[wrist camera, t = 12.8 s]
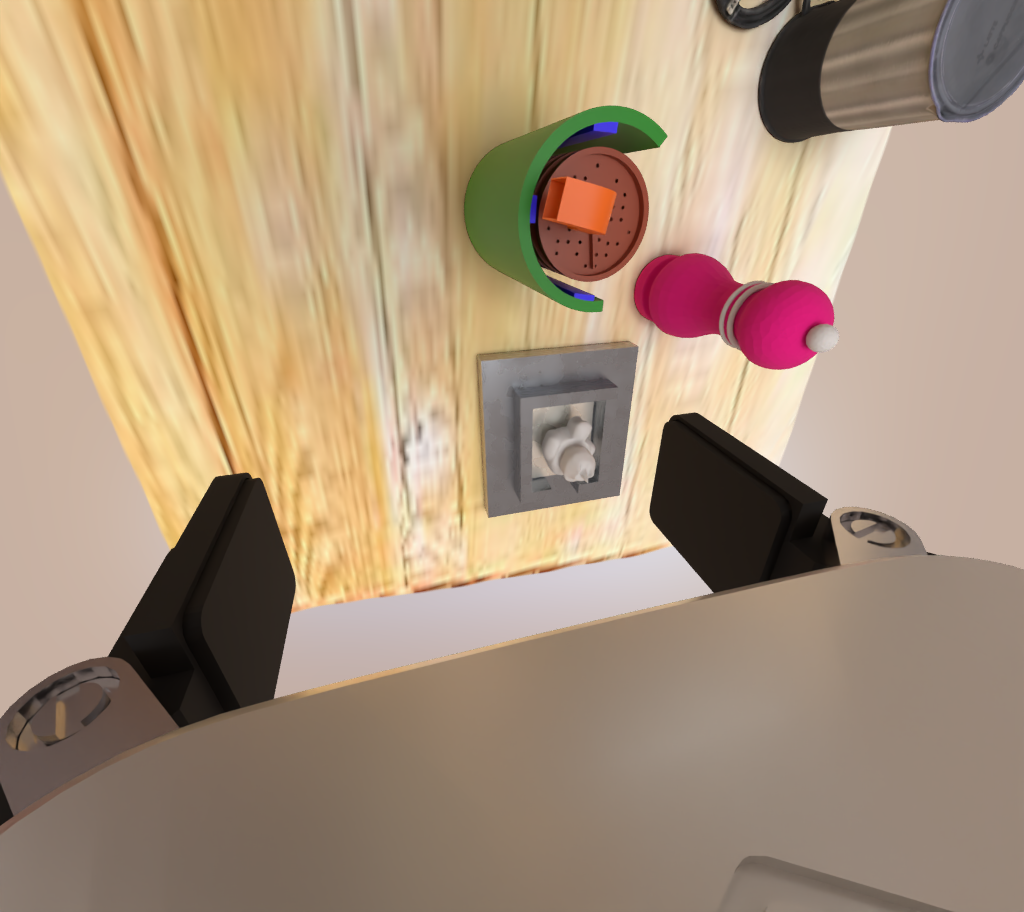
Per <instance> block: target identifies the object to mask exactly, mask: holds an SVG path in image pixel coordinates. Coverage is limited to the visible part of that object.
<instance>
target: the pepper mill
mask: <svg viewBox="0 0 1024 912" xmlns="http://www.w3.org/2000/svg"><path fill="white" fill-rule="evenodd" d="M634 299H635V304H636V307H637V309H638V311H639V312H640V314H641V315H642V316H643V317H645V318H646V319H648V320H651V321H653V322H654V323H655V324H656V326H657V327H658V328H659V329H660V330H662V331H663V332H665V333H666V334H669V335H672V336H676V337H681V338H694V337H699V336H703V335H708V334H719V335H721V337H722V339H723V341H724V342H725V343H726V344H727V345H729V346H731V347H734V348H737V349H738V350H741V351H742V352H743V354H744V355H745V356H746V357H747V359H748V360H749V361H751V362H752V363H754V364H756V365H758V366H761V367H764V368H768V369H777V370H781V369H789V368H793V367H796V366H798V365H801V364H803V363H805V362H807V361H808V360H809V359H811V358H812V357H813V356H815V355H816V354H817V353H818V352H826V351H829V350H831V349H832V348H834V346H835V345H836V344H837V342H838V341H839V332H838V330H837V329H836V328H835V327H834V326H833V322H834V311H833V306H832V304H831V301H830V299H829V298H828V296H827V295H826V294H825V293H824V292H823V291H822V290H821V289H819V288H818V287H816V286H814V285H812V284H810V283H806V282H802V281H799V280H788V281H782V282H778V283H775V284H774V283H767V282H764V281H752V282H749V283H747V284H745V285H743V284H741V283H738V282H736V281H734V279H733V278H732V276H731V274H730V273H729V271H728V270H727V269H726V268H725V267H724V266H723V265H722V264H721V263H720V262H718V261H717V260H716V259H714V258H712V257H709V256H706V255H703V254H698V253H692V254H685V255H682V256H675V255H663V256H661V257H658V258H656V259H654V260H653V261H651V262H650V263H649V264H648V265H647V266H646V267H645V268H644V269H643V271H642V272H641V274H640V276H639V277H638V279H637V282H636V286H635V292H634Z"/></svg>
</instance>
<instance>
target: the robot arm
mask: <svg viewBox="0 0 1024 912" xmlns="http://www.w3.org/2000/svg"><path fill="white" fill-rule="evenodd" d="M827 500H828V499H827V498H825V497H824V496H822V495H820V494H819V493H818V492H816V491H815V490H813V489H811V488H810V487H809V486H807V485H805V484H804V483H802V482H801V481H799V480H798V479H796V478H795V477H793V476H792V475H790V474H789V473H787V472H786V471H784V470H783V469H781V468H780V467H778V466H777V465H775V464H774V463H772V462H771V461H769V460H768V459H766V458H765V457H763V456H762V455H760V454H759V453H757V452H756V451H754V450H753V449H751V448H750V447H748V446H747V445H745V444H744V443H742V442H741V441H739V440H737V439H736V438H734V437H733V436H731V435H730V434H728V433H727V432H725V431H724V430H722V429H721V428H719V427H718V426H716V425H715V424H713V423H712V422H710V421H709V420H707V419H706V418H704V417H703V416H701V415H700V414H698V413H688V414H681V415H674V416H672V417H671V418H670V420H669V422H667V423H665V425H664V428H663V433H662V439H661V445H660V451H659V456H658V462H657V468H656V474H655V480H654V486H653V492H652V498H651V503H650V516H651V519H652V521H653V523H654V524H655V525H656V526H657V527H658V529H659V530H660V531H661V532H662V533H663V534H664V536H665V537H666V538H667V539H668V540H669V541H670V543H671V544H672V545H673V546H674V547H675V548H676V549H677V551H678V552H679V553H680V554H681V555H682V556H683V558H685V560H686V561H687V562H688V563H689V565H690V566H691V567H692V568H693V569H694V570H695V572H697V574H698V575H699V576H700V577H701V578H702V580H703V581H704V582H705V583H706V584H707V585H708V587H709V588H710V589H711V590H712V591H713V592H714V593H712V594H708V595H704V596H699V597H695V598H691V599H686V600H682V601H678V602H673V603H669V604H664V605H660V606H656V607H652V608H647V609H643V610H639V611H634V612H630V613H625V614H621V615H617V616H613V617H608V618H604V619H600V620H595V621H592V622H587V623H583V624H579V625H574V626H570V627H566V628H562V629H557V630H553V631H549V632H544V633H541V634H536V635H532V636H527V637H523V638H519V639H515V640H511V641H506V642H502V643H499V644H495V645H490V646H486V647H482V648H477V649H473V650H469V651H465V652H461V653H457V654H452V655H448V656H444V657H440V658H436V659H432V660H427V661H423V662H419V663H415V664H411V665H407V666H402V667H398V668H394V669H390V670H386V671H382V672H377V673H374V674H369V675H365V676H361V677H357V678H354V679H349V680H346V681H342V682H338V683H333V684H329V685H325V686H321V687H318V688H313V689H309V690H305V691H302V692H298V693H294V694H291V695H287V696H283V697H280V698H276V699H274V694H275V689H276V684H277V679H278V674H279V669H280V664H281V659H282V654H283V649H284V644H285V639H286V634H287V629H288V624H289V619H290V614H291V609H292V604H293V599H294V595H295V588H296V583H295V575H294V572H293V569H292V566H291V563H290V560H289V557H288V554H287V551H286V548H285V545H284V542H283V540H282V537H281V534H280V531H279V528H278V525H277V522H276V519H275V516H274V513H273V510H272V507H271V504H270V501H269V499H268V496H267V493H266V490H265V487H264V484H263V482H262V480H261V479H260V478H254V479H252V477H251V475H250V474H249V473H240V474H233V475H225V476H218V477H215V478H214V479H213V481H212V483H211V485H210V486H209V488H208V490H207V492H206V493H205V495H204V497H203V499H202V500H201V502H200V504H199V506H198V507H197V509H196V511H195V513H194V514H193V516H192V518H191V520H190V521H189V523H188V525H187V527H186V528H185V530H184V532H183V534H182V535H181V537H180V539H179V541H178V542H177V544H176V546H175V548H173V549H171V550H170V552H169V553H168V554H167V556H166V557H165V559H164V561H163V563H162V564H161V566H160V568H159V569H158V571H157V573H156V575H155V576H154V578H153V580H152V581H151V583H150V585H149V587H148V589H147V590H146V592H145V594H144V595H143V597H142V599H141V601H140V602H139V604H138V606H137V607H136V609H135V611H134V613H133V614H132V616H131V618H130V620H129V621H128V623H127V625H126V626H125V628H124V630H123V631H122V633H121V635H120V637H119V638H118V640H117V642H116V643H115V645H114V647H113V649H112V650H111V652H110V654H109V656H108V657H102V658H95V659H89V660H86V661H83V662H80V663H77V664H74V665H72V666H69V667H67V668H65V669H63V670H61V671H59V672H57V673H55V674H53V675H51V676H49V677H48V678H46V679H44V680H43V681H42V682H40V683H39V684H37V685H36V686H34V687H33V688H31V689H30V690H28V691H27V692H26V693H25V694H24V695H23V696H21V697H20V698H19V699H18V700H17V701H16V702H15V703H14V704H13V705H12V706H10V707H9V709H8V710H7V711H6V712H5V713H4V715H3V716H2V717H1V718H0V912H1024V570H1023V569H1020V568H1017V567H1014V566H1010V565H1006V564H1002V563H997V562H991V561H986V560H980V559H974V558H965V557H954V556H944V555H936V554H932V553H928V552H926V550H925V548H924V546H923V544H922V541H921V539H920V538H919V537H918V535H917V534H916V532H915V531H914V530H912V529H911V528H910V527H909V526H907V525H906V524H904V523H903V522H901V521H899V520H897V519H896V518H894V517H891V516H889V515H886V514H884V513H882V512H878V511H875V510H871V509H866V508H859V507H843V508H840V509H836V510H835V511H834V512H833V513H832V514H831V516H830V518H828V517H826V516H825V515H823V514H822V512H823V510H824V508H825V505H826V503H827Z"/></svg>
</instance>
